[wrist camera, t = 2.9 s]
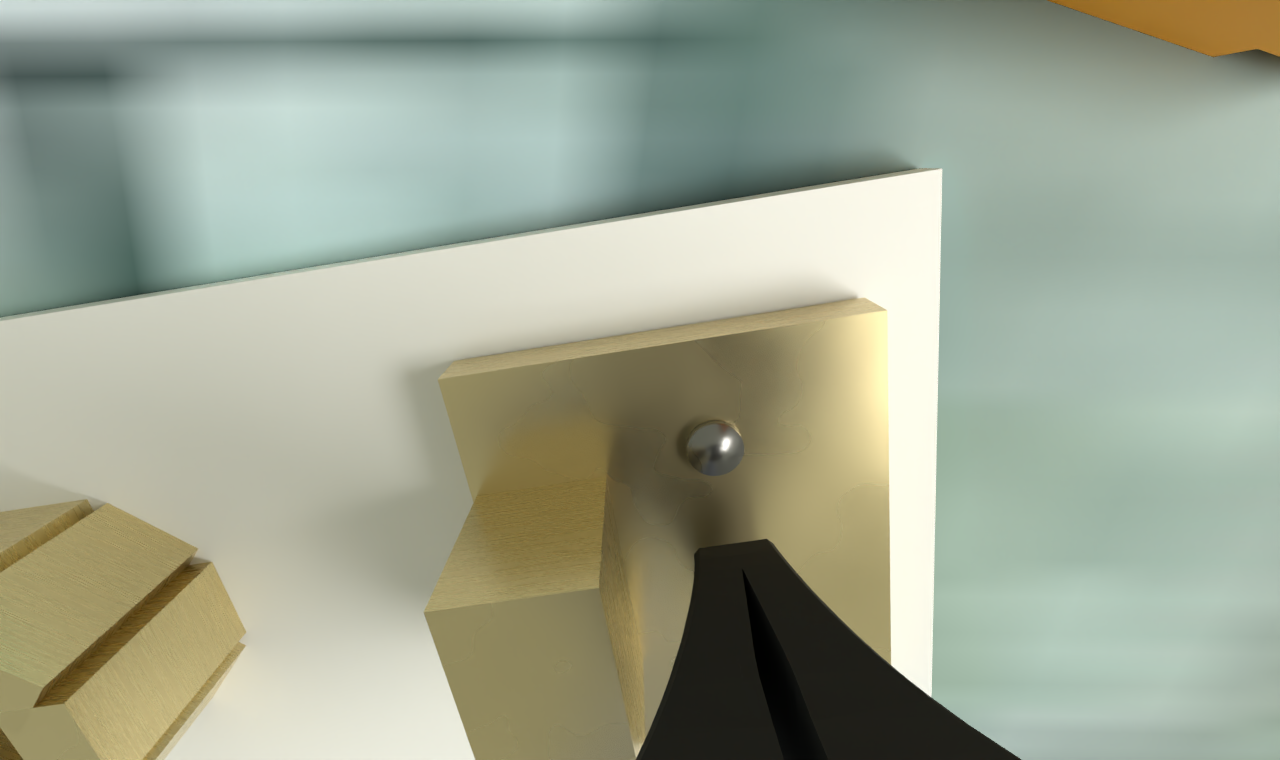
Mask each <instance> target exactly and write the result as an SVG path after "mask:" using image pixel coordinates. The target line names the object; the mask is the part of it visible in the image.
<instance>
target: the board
mask: <svg viewBox="0 0 1280 760" xmlns="http://www.w3.org/2000/svg"><path fill="white" fill-rule="evenodd" d="M941 203H942V169H931V168H919V169H913V170H907V171H901V172H895V173H889V174H882V175H876V176H870V177H864V178H858V179H852V180H845V181H839V182H833V183H827V184H821V185H815V186H808V187H802V188H796V189H790V190H784V191H777V192H771V193H765V194H759V195H753V196H747V197H740V198H734V199H728V200H722V201H716V202H710V203H703V204H697V205H691V206H685V207H679V208H673V209H666V210H660V211H654V212H648V213H642V214H636V215H629V216H623V217H617V218H611V219H605V220H599V221H592V222H586V223H580V224H574V225H568V226H562V227H555V228H549V229H543V230H537V231H531V232H525V233H518V234H512V235H506V236H500V237H494V238H487V239H481V240H475V241H469V242H463V243H457V244H450V245H444V246H438V247H432V248H426V249H420V250H413V251H407V252H401V253H395V254H389V255H383V256H376V257H370V258H364V259H358V260H352V261H346V262H339V263H333V264H327V265H321V266H315V267H309V268H302V269H296V270H290V271H284V272H278V273H272V274H265V275H259V276H253V277H247V278H241V279H234V280H228V281H222V282H216V283H210V284H204V285H197V286H191V287H185V288H179V289H173V290H167V291H160V292H154V293H148V294H142V295H136V296H130V297H123V298H117V299H111V300H105V301H99V302H93V303H86V304H80V305H74V306H68V307H62V308H56V309H49V310H43V311H37V312H31V313H25V314H19V315H12V316H6V317H0V512H4V511H11V510H17V509H24V508H31V507H37V506H44V505H51V504H57V503H64V502H71V501H77V500H84V499H87V500H88V501H89V503H90V505H91V507H92V509H93V511H96V510H97V509H99V508H100V507H102V506H103V505H105V504H106V503H109V504H111V505H113V506H115V507H117V508H119V509H121V510H123V511H125V512H127V513H129V514H131V515H133V516H135V517H137V518H139V519H141V520H143V521H145V522H147V523H149V524H151V525H153V526H155V527H157V528H159V529H161V530H163V531H165V532H167V533H169V534H171V535H173V536H175V537H177V538H178V539H180V540H182V541H184V542H186V543H188V544H190V545H192V546H194V547H196V548H198V550H197V552H196V554H195V556H194V557H193V559H192V561H191V563H190V564H189V565H193V564H200V563H207V562H213V564H214V566H215V568H216V570H217V573H218V575H219V577H220V579H221V581H222V583H223V585H224V587H225V589H226V591H227V593H228V595H229V597H230V599H231V601H232V603H233V605H234V607H235V610H236V612H237V614H238V616H239V618H240V620H241V622H242V624H243V626H244V628H245V630H246V633H245V634H244V636H243V637H242V638H241V639H240V641H239V642H240V643H242V644H244V645H246V647H245V648H244V650H243V651H242V653H241V654H240V656H239V657H238V659H237V661H236V662H235V664H234V665H233V667H232V668H231V670H230V671H229V673H228V675H227V676H226V678H225V679H224V681H223V682H222V684H221V685H220V687H219V689H218V690H217V692H216V693H215V695H214V696H213V698H212V699H211V700H210V702H209V703H208V704H207V706H206V707H205V708H204V709H203V711H202V712H201V713H200V715H199V716H198V717H197V718H196V720H195V721H194V722H193V724H192V725H191V726H190V727H189V729H188V730H187V731H186V733H185V734H184V735H183V736H182V738H181V739H180V740H179V741H178V743H177V744H176V745H175V747H174V748H173V749H172V750H171V752H170V753H169V754H168V756H167V757H166V758H165V759H164V760H475V758H474V755H473V752H472V749H471V746H470V743H469V741H468V738H467V735H466V732H465V729H464V726H463V724H462V721H461V718H460V715H459V712H458V709H457V706H456V704H455V701H454V698H453V695H452V692H451V689H450V686H449V684H448V681H447V678H446V675H445V672H444V669H443V667H442V664H441V661H440V658H439V655H438V652H437V649H436V647H435V644H434V641H433V638H432V635H431V632H430V630H429V627H428V624H427V621H426V618H425V615H424V610H425V608H426V606H427V604H428V601H429V599H430V597H431V595H432V593H433V591H434V588H435V586H436V584H437V582H438V580H439V577H440V575H441V573H442V571H443V569H444V566H445V564H446V562H447V560H448V558H449V556H450V553H451V551H452V549H453V547H454V545H455V542H456V540H457V538H458V536H459V534H460V531H461V529H462V527H463V525H464V523H465V520H466V518H467V516H468V514H469V512H470V510H471V507H472V505H473V499H472V496H471V493H470V489H469V486H468V482H467V479H466V475H465V472H464V469H463V465H462V462H461V458H460V455H459V451H458V448H457V445H456V441H455V438H454V434H453V431H452V427H451V424H450V420H449V417H448V414H447V410H446V407H445V403H444V400H443V396H442V393H441V390H440V386H439V383H438V378H439V377H440V376H441V375H442V374H443V373H444V372H445V371H446V369H447V368H448V367H449V366H450V365H451V364H452V363H453V362H454V361H457V360H464V359H470V358H477V357H483V356H490V355H496V354H503V353H509V352H516V351H522V350H528V349H535V348H541V347H548V346H554V345H561V344H567V343H574V342H580V341H587V340H593V339H599V338H606V337H612V336H619V335H625V334H632V333H638V332H645V331H651V330H658V329H664V328H671V327H677V326H683V325H690V324H696V323H703V322H709V321H716V320H722V319H729V318H735V317H742V316H748V315H754V314H761V313H767V312H774V311H780V310H787V309H793V308H800V307H806V306H813V305H819V304H825V303H832V302H838V301H845V300H851V299H858V298H864V297H865V298H867V299H868V300H870V301H872V302H874V303H875V304H877V305H879V306H881V307H882V308H884V309H886V310H887V321H888V415H889V509H890V603H891V666H893V667H894V668H895V669H896V670H897V671H899V672H900V673H901V674H902V675H903V676H905V677H906V678H907V679H908V680H910V681H911V682H912V683H913V684H915V685H916V686H917V687H919V688H920V689H921V690H922V691H924V692H925V693H926V694H928V695H929V696H930V697H931V693H932V644H933V595H934V546H935V497H936V448H937V399H938V350H939V301H940V252H941Z"/></svg>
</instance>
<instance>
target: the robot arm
mask: <svg viewBox="0 0 1280 760" xmlns="http://www.w3.org/2000/svg"><path fill="white" fill-rule="evenodd" d="M694 561H695V566H694V581H693V588H692V594H691V600H690V605H689V610H688V614H687V618H686V623H685V627H684V632H683V635H682V639H681V643H680V646H679V649H678V652H677V656H676V659H675V662H674V665H673V668H672V672H671V675H670V678H669V681H668V684H667V686H666V689H665V692H664V695H663V697H662V700H661V702H660V705H659V708H658V710H657V713H656V715H655V717H654V720H653V722H652V725H651V727H650V729H649V732H648V734H647V736H646V738H645V741H644V743H643V745H642V747H641V749H640V751H639V753H638V755H637V758H636V760H1021V759H1020V758H1018V757H1017V756H1015V755H1014V754H1012V753H1011V752H1009V751H1008V750H1006V749H1005V748H1003V747H1001V746H1000V745H998V744H997V743H995V742H994V741H992V740H991V739H989V738H988V737H986V736H985V735H983V734H982V733H980V732H979V731H977V730H976V729H974V728H973V727H971V726H970V725H968V724H967V723H965V722H964V721H963V720H961V719H960V718H959V717H957V716H956V715H954V714H953V713H952V712H950V711H949V710H948V709H946V708H945V707H943V706H942V705H941V704H939V703H938V702H937V701H935V700H934V699H933V698H931V697H930V696H929V695H928V694H926V693H925V692H924V691H922V690H921V689H920V688H919V687H917V686H916V685H915V684H913V683H912V682H911V681H910V680H908V679H907V678H906V677H905V676H903V675H902V674H901V673H900V672H899V671H897V670H896V669H895V668H894V667H893V666H891V665H890V664H889V663H888V662H887V661H886V660H884V659H883V658H882V657H881V656H880V655H879V654H878V653H876V652H875V651H874V650H873V649H872V648H871V647H870V646H869V645H868V644H867V643H865V642H864V641H863V640H862V639H861V638H860V637H859V636H858V635H857V634H856V633H855V632H853V631H852V630H851V629H850V628H849V627H848V626H847V625H846V624H845V623H844V622H843V621H842V620H841V619H840V618H839V617H838V616H837V615H836V614H835V613H834V612H833V611H832V610H831V609H830V608H829V607H828V606H827V605H826V604H825V603H824V602H823V601H822V600H821V599H820V598H819V597H818V596H817V595H816V593H815V592H814V591H813V590H812V589H811V588H810V587H809V586H808V585H807V584H806V583H805V581H804V580H803V579H802V578H801V577H800V576H799V575H798V573H797V572H796V571H795V570H794V569H793V568H792V566H791V565H790V564H789V563H788V562H787V560H786V559H785V558H784V557H783V556H782V554H781V553H780V552H779V550H778V549H777V548H776V546H775V545H774V544H773V543H772V542H771V541H769V540H768V539H761V540H754V541H747V542H739V543H732V544H725V545H718V546H711V547H703V548H699V549H698V550H697V551H696V552H695V553H694Z"/></svg>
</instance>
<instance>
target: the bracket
mask: <svg viewBox="0 0 1280 760" xmlns="http://www.w3.org/2000/svg"><path fill="white" fill-rule="evenodd" d="M1048 1H1051V2H1054V3H1057V4H1060V5H1063V6H1066V7H1068V8H1071V9H1074V10H1077V11H1080V12H1083V13H1086V14H1089V15H1092V16H1095V17H1098V18H1101V19H1104V20H1106V21H1109V22H1112V23H1115V24H1118V25H1121V26H1124V27H1127V28H1130V29H1133V30H1136V31H1139V32H1141V33H1144V34H1147V35H1150V36H1153V37H1156V38H1159V39H1162V40H1165V41H1168V42H1171V43H1174V44H1177V45H1179V46H1182V47H1185V48H1188V49H1191V50H1194V51H1197V52H1200V53H1203V54H1206V55H1209V56H1212V57H1216V56H1221V55H1227V54H1232V53H1238V52H1243V51H1249V50H1254V49H1259V50H1262V51H1265V52H1268V53H1271V54H1273V55H1276V56H1279V57H1280V0H1048Z"/></svg>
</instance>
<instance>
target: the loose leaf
mask: <svg viewBox="0 0 1280 760" xmlns="http://www.w3.org/2000/svg"><path fill="white" fill-rule="evenodd" d="M438 383H439V386H440V390H441V393H442V396H443V400H444V403H445V407H446V410H447V414H448V417H449V420H450V424H451V427H452V431H453V434H454V438H455V441H456V445H457V448H458V451H459V455H460V458H461V462H462V465H463V469H464V472H465V475H466V479H467V482H468V486H469V489H470V493H471V496H472V499H473V505H472V507H471V510H470V512H469V514H468V516H467V518H466V520H465V523H464V525H463V527H462V529H461V531H460V534H459V536H458V538H457V540H456V542H455V545H454V547H453V549H452V551H451V553H450V556H449V558H448V560H447V562H446V564H445V566H444V569H443V571H442V573H441V575H440V577H439V580H438V582H437V584H436V586H435V588H434V591H433V593H432V595H431V597H430V599H429V601H428V604H427V606H426V608H425V610H424V615H425V618H426V621H427V624H428V627H429V630H430V632H431V635H432V638H433V641H434V644H435V647H436V649H437V652H438V655H439V658H440V661H441V664H442V667H443V669H444V672H445V675H446V678H447V681H448V684H449V686H450V689H451V692H452V695H453V698H454V701H455V704H456V706H457V709H458V712H459V715H460V718H461V721H462V724H463V726H464V729H465V732H466V735H467V738H468V741H469V743H470V746H471V749H472V752H473V755H474V758H475V760H636V758H637V755H638V753H639V751H640V749H641V747H642V745H643V743H644V741H645V738H646V736H647V734H648V732H649V729H650V727H651V725H652V722H653V720H654V717H655V715H656V713H657V710H658V708H659V705H660V702H661V700H662V697H663V695H664V692H665V689H666V686H667V684H668V681H669V678H670V675H671V672H672V668H673V665H674V662H675V659H676V656H677V652H678V649H679V646H680V643H681V639H682V635H683V632H684V627H685V623H686V618H687V614H688V610H689V605H690V600H691V594H692V588H693V581H694V566H695V561H694V553H695V552H696V551H697V550H698V549H699V548H703V547H711V546H718V545H725V544H732V543H739V542H747V541H754V540H761V539H768V540H769V541H771V542H772V543H773V544H774V545H775V546H776V548H777V549H778V550H779V552H780V553H781V554H782V556H783V557H784V558H785V559H786V560H787V562H788V563H789V564H790V565H791V566H792V568H793V569H794V570H795V571H796V572H797V573H798V575H799V576H800V577H801V578H802V579H803V580H804V581H805V583H806V584H807V585H808V586H809V587H810V588H811V589H812V590H813V591H814V592H815V593H816V595H817V596H818V597H819V598H820V599H821V600H822V601H823V602H824V603H825V604H826V605H827V606H828V607H829V608H830V609H831V610H832V611H833V612H834V613H835V614H836V615H837V616H838V617H839V618H840V619H841V620H842V621H843V622H844V623H845V624H846V625H847V626H848V627H849V628H850V629H851V630H852V631H853V632H855V633H856V634H857V635H858V636H859V637H860V638H861V639H862V640H863V641H864V642H865V643H867V644H868V645H869V646H870V647H871V648H872V649H873V650H874V651H875V652H876V653H878V654H879V655H880V656H881V657H882V658H883V659H884V660H886V661H887V662H888V663H889V664H890V665H891V603H890V509H889V415H888V321H887V310H886V309H884V308H882V307H881V306H879V305H877V304H875V303H874V302H872V301H870V300H868V299H867V298H865V297H864V298H858V299H851V300H845V301H838V302H832V303H825V304H819V305H813V306H806V307H800V308H793V309H787V310H780V311H774V312H767V313H761V314H754V315H748V316H742V317H735V318H729V319H722V320H716V321H709V322H703V323H696V324H690V325H683V326H677V327H671V328H664V329H658V330H651V331H645V332H638V333H632V334H625V335H619V336H612V337H606V338H599V339H593V340H587V341H580V342H574V343H567V344H561V345H554V346H548V347H541V348H535V349H528V350H522V351H516V352H509V353H503V354H496V355H490V356H483V357H477V358H470V359H464V360H457V361H454V362H453V363H452V364H451V365H450V366H449V367H448V368H447V369H446V371H445V372H444V373H443V374H442V375H441V376H440V377H439V378H438Z"/></svg>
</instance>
